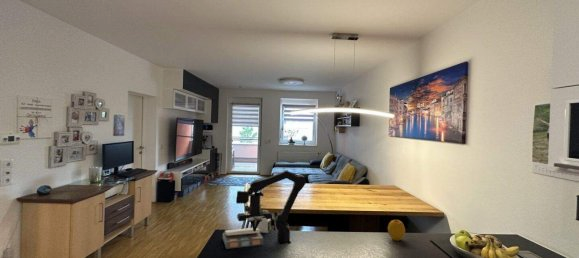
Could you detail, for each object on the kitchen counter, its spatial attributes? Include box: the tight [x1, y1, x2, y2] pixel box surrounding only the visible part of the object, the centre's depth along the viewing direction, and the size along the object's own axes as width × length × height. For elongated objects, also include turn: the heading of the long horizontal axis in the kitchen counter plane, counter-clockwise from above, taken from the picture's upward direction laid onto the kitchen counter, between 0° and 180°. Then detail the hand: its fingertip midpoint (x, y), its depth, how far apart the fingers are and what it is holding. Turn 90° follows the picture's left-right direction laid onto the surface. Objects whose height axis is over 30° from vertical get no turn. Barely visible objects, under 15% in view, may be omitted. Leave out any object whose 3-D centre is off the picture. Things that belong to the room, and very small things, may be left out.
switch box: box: [222, 232, 264, 250], centre depth 170 cm, size 20×14×4 cm
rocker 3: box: [245, 227, 261, 234], centre depth 173 cm, size 6×8×2 cm
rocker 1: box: [224, 229, 238, 236], centre depth 169 cm, size 6×8×2 cm
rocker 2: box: [236, 228, 249, 235], centre depth 171 cm, size 6×8×2 cm
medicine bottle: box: [257, 210, 272, 234], centre depth 188 cm, size 7×7×12 cm
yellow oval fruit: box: [387, 219, 406, 242], centre depth 179 cm, size 10×10×12 cm
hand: (254, 231), depth 170 cm, fingers closed, pressing on rocker 3
